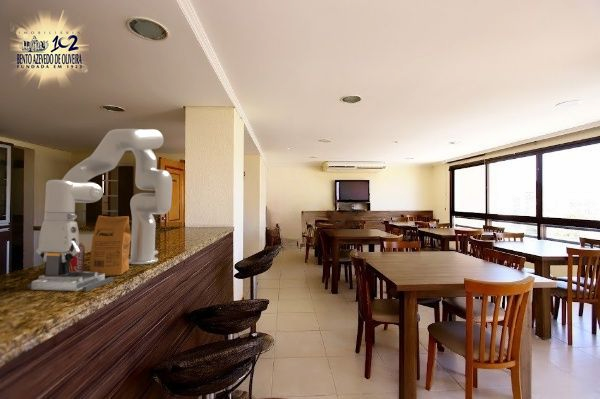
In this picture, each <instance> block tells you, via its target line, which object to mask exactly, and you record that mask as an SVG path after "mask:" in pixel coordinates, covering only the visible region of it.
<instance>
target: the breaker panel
mask: <svg viewBox="0 0 600 399" xmlns="http://www.w3.org/2000/svg"><path fill="white" fill-rule="evenodd" d="M105 277H106V276H105V273H97V272H90V271H83V272H82V271H69V273H68V275H66V276H46V274H44V275H39V276H38V279H36V280H35V279H34V280H32V281H31V283H32V287H31V288H30V289H31V290H40V291H64V292H65V291H66V292H67V291H68V292H69V291H70V292H77V291H80V290H83V287H85V286H87V285H90V284H93V283H96V282H98V281H101V280H104V279H106V278H105Z"/></svg>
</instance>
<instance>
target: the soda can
mask: <svg viewBox="0 0 600 399" xmlns="http://www.w3.org/2000/svg"><path fill="white" fill-rule="evenodd" d="M83 243H84V242H83V241H79V250H80V253H79V254H77V255H76V256H75V257H74V258H73V259H72V260H71V261H70V269H69V271H82V272H84V268H85V253H86V252H85V245H84V244H83ZM72 252H73V251H71V253H72Z"/></svg>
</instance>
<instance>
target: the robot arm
mask: <svg viewBox="0 0 600 399" xmlns="http://www.w3.org/2000/svg"><path fill="white" fill-rule="evenodd" d="M163 144H164V135H163V134H162V132H160V131H159V130H158V129H155V128H146V129H145V128H143V129H141V128H115V129H111V130H109V131H108V132H107V133H106V134H105V135H104V137H103V139H102V140H101V141H100V143H98V146H97V147H96V148H95V150H94V151H93V153H91V155H90V156H89V157H87V158H85V159H84V160H82V161H81V162H79V163H77V164H76V165H74V166H73V167H72V168H70V169H69V170H68V172H66V173H65V175H64V176H63V178H62V179H50V180H47V182H46V183H45V199H44V201H45V202H44V219H43V220H44V221H43V222H42V224H41V227H40V232H39V239H38V247H37V248H36V250H35V252H36V253H37V254H38V255H39V256H40V257H41V258H42V262H44V275H46V255H47V253H61V260H62V262H60V268H59V274H60V275H63V274H67V273H69V269H70V261H71V260H72V259H73V258H74V257H75V256H76V255H77V254H79V253H80V250H79V242H80V231H79V227H78V222H77V221H75V220H76V219H77V218H78V215H77V214H76V213H75V211H76V203H83V204H89V203H91V204H92V203H95V202H98V201H100V200H101V198H103V196H104V190H103V188H102V187H101V186H100V185H99V184H97V183H96V182H92V181H90V180H91V179H93V178H95V177H96V176H97V177H98V176H99V175H101V174H105V173H108V172H110V171H112V170H114V169H115V168H116V167H117V166H118V164H119V162H120V160H121V159H122V157H123V156H124V155H125V153H126V151H131V152H132V154H133V155H134V158H135V178H134V179H135V180H134V181H135V182H134V183H135V186H136V188H138V189H139V190H142V191H155V192H153V193H152V192H140V193H136V194H134V195H133V196H132V197H131V199H130V203H129V206H130V212H131V236H130V258H129V265H148V264H149V265H150V264H154V263H156V262H158V261H159V258H158V257H155V256H156V255H158V254H159V251H158V250H156V249H155V246H156V227H157V226H156V225H157V224H156V219H155V217H154V215H165V214H167V213H169V211H170V210H171V207H172V199H173V198H172V197H173V179H172V176H171V174H170V172H169V171H168V170H165V169H158V162H157V161H158V160H157V156H156V154H155V153H154V151H153V150H156V149H159V148H162V146H163ZM71 251H73V252H72V253H71ZM66 254H67V256H66Z"/></svg>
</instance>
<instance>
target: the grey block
mask: <svg viewBox="0 0 600 399" xmlns="http://www.w3.org/2000/svg"><path fill="white" fill-rule="evenodd" d="M66 256H67V254H66ZM60 262H62V260H61V253H47V255H46V274H45V276H66V275H68V273H67V274H63V275H60V274H59V268H60Z"/></svg>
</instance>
